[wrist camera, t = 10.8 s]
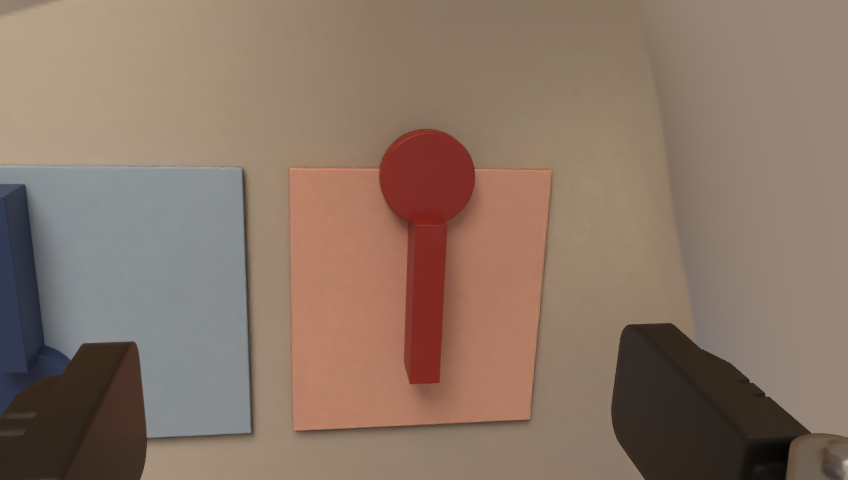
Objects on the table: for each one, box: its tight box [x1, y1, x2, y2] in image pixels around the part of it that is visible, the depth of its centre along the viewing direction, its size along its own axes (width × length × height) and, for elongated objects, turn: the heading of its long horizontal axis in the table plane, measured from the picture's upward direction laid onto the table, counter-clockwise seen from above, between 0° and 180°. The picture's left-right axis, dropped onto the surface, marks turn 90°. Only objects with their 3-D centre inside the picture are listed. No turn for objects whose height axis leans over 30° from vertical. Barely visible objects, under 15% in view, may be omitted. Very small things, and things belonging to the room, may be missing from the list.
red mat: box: [289, 168, 552, 431], centre depth 35 cm, size 13×12×1 cm
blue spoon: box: [0, 184, 71, 419], centre depth 31 cm, size 11×4×2 cm, turn 178°
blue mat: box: [0, 165, 252, 438], centre depth 33 cm, size 13×12×1 cm
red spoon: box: [379, 129, 475, 384], centre depth 33 cm, size 11×4×2 cm, turn 178°
